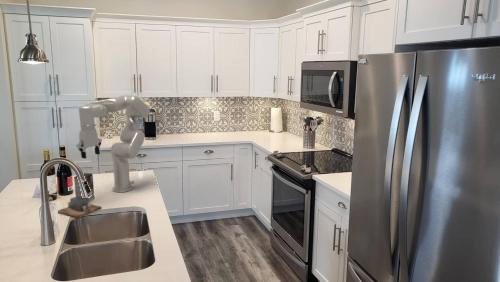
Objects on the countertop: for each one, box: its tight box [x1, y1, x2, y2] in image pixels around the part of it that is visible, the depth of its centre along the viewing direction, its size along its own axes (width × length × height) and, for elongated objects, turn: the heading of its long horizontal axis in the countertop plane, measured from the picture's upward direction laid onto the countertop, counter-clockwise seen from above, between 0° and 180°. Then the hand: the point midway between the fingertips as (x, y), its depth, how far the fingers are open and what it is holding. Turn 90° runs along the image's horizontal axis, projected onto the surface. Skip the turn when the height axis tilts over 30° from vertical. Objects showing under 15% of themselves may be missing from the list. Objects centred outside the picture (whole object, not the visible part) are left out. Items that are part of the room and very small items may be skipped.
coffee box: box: [73, 172, 95, 203], centre depth 220 cm, size 9×6×16 cm
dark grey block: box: [69, 196, 89, 211], centre depth 205 cm, size 5×8×6 cm, turn 64°
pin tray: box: [57, 201, 102, 219], centre depth 205 cm, size 16×16×4 cm
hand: (90, 156), depth 214 cm, fingers open, 9 cm apart
